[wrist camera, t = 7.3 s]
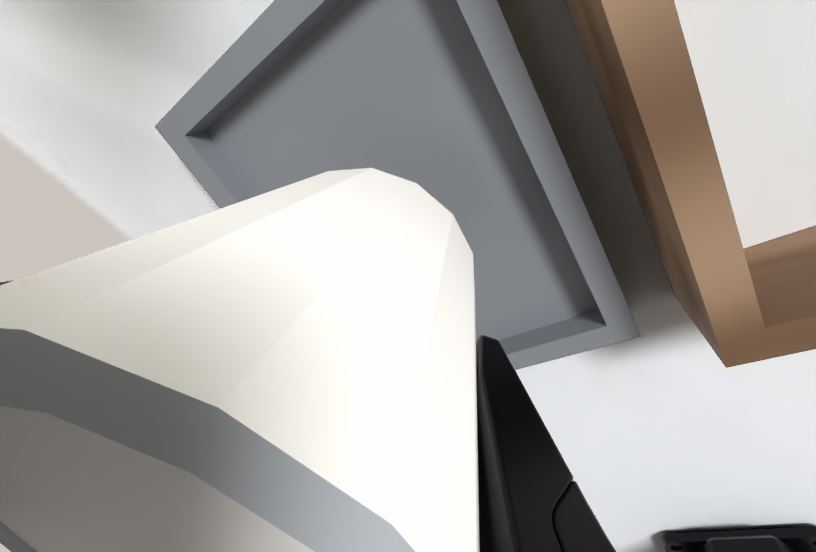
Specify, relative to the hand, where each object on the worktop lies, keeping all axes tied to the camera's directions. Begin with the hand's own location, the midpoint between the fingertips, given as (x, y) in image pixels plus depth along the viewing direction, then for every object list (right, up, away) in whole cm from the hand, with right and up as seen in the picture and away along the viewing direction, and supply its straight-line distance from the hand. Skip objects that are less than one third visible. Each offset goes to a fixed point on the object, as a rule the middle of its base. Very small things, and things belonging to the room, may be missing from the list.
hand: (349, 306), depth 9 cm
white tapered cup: (0, +1, +1) cm, 2 cm away
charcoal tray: (+1, +3, +5) cm, 6 cm away
